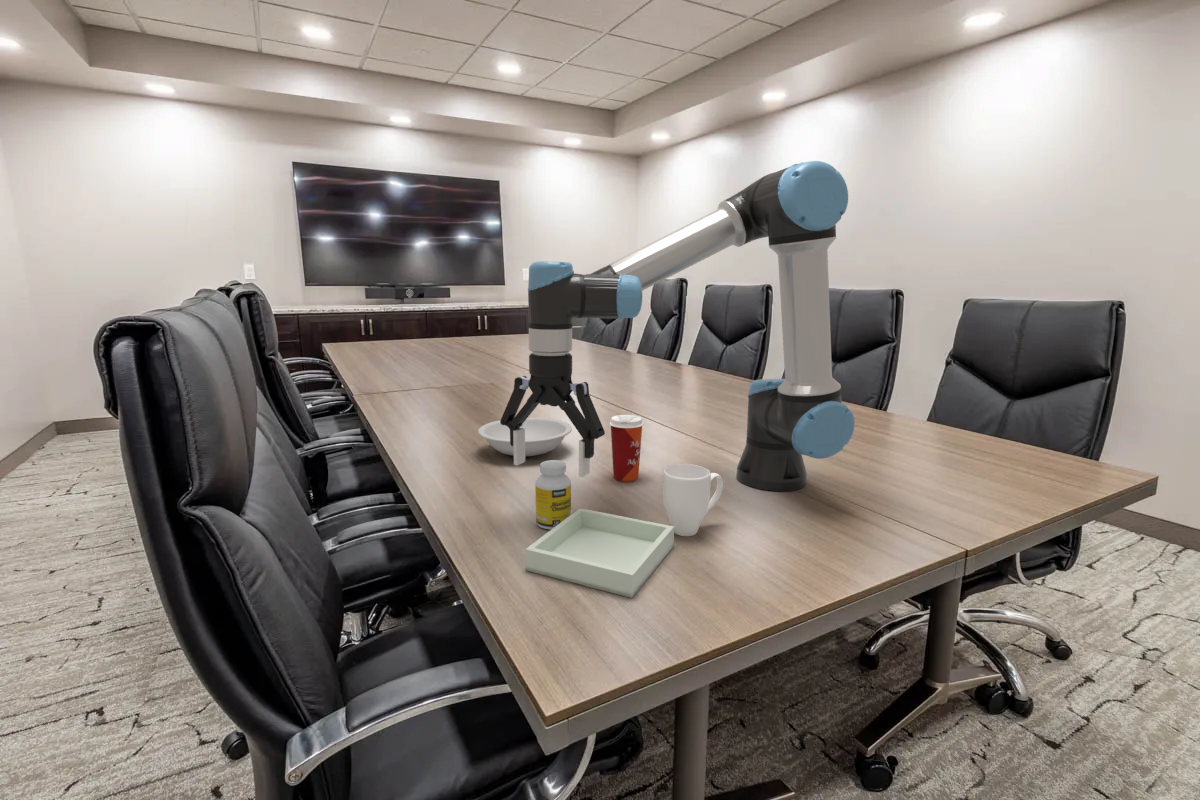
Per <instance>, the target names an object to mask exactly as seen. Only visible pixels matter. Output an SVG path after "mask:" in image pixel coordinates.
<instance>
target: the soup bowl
mask: <svg viewBox="0 0 1200 800" xmlns="http://www.w3.org/2000/svg"><path fill="white" fill-rule="evenodd" d="M500 420H501V419H500ZM500 420H495V421H491V422H488V423H486V424H483V425H482V426H480V427H479V429H478V430H477V432H478V435H479V436H480V437H481V438H483V439H485V440H486V442H487V443H488V444H489V445H490V446H491V447H492V448H493V449H494V450H496V451H497V452H500V453H501V454H505V455H508V456H513V457H514V447H513V446H511V444H510V429H509V427H507V426H506V425H501V423H500ZM522 425H523V426H521V427H520V428H525V457H532V456H533V457H534V456H540V455H543V454H547V453H549V452H550V451H553V450H554V449H555V448H558V446H559V445H560V444H561V443H562V442H563V440H564V439H565V437H566V436H568V435H569V434H571V432H572V431H573V428H572V427H573V426H572V425H571V424H569V423H567V421H566V422H565V421H562V420H559V419H555V418H548V417H547V418H546V417H528V418H527V419H526V420H525V421H524V423H523V424H522Z"/></svg>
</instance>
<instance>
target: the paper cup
mask: <svg viewBox="0 0 1200 800" xmlns="http://www.w3.org/2000/svg"><path fill="white" fill-rule="evenodd" d="M608 424H609V425H610V433H611V434H610V435H611V436H610V437H611V451H612V453H611V456H612V471H613V478H614V479H615V480H616V481H619V482H625V483H628V482H635V481H637V480H639V479H638V478H639V471H640V459H641V448H642V434H643V432H642V431H643V426H644V425H645V424H644V422H643V418H642V417H641V416H639V415H633V414H619V415H614V416H612V417H611V418H610V422H609V423H608Z"/></svg>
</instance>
